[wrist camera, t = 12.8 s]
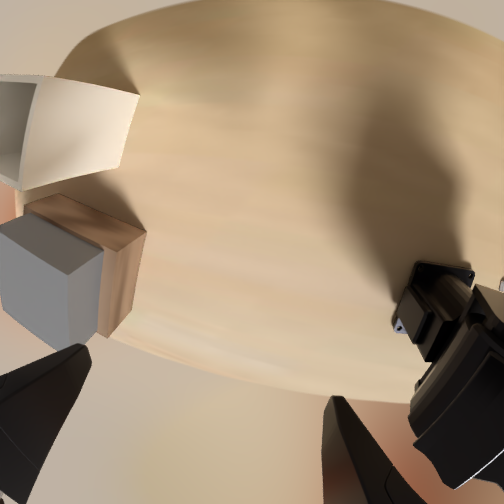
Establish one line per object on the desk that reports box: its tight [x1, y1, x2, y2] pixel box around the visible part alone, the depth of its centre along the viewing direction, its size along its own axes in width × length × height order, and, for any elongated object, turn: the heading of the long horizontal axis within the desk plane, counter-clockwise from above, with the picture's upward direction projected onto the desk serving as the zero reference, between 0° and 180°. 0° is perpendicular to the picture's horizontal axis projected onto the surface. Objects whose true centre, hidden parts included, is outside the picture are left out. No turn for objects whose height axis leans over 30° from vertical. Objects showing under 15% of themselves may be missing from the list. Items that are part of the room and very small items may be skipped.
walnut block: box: [23, 194, 147, 338], centre depth 21 cm, size 10×8×4 cm
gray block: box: [0, 212, 104, 351], centre depth 17 cm, size 8×7×4 cm
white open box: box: [0, 74, 140, 192], centre depth 14 cm, size 6×6×10 cm
